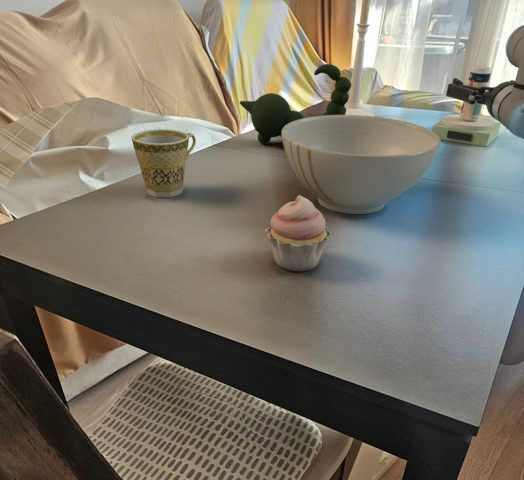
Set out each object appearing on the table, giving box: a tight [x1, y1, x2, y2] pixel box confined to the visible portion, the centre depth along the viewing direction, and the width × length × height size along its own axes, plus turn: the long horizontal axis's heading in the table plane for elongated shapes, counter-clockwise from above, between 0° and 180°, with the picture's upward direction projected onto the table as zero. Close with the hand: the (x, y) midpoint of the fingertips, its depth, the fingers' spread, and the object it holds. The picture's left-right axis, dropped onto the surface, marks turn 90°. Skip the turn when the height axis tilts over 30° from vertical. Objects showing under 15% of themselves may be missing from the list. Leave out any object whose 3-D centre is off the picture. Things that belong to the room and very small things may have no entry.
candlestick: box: [344, 0, 375, 117], centre depth 139 cm, size 13×13×30 cm
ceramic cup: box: [131, 128, 197, 199], centre depth 93 cm, size 13×10×10 cm
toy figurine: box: [239, 63, 352, 145], centre depth 117 cm, size 9×19×25 cm
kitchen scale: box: [431, 113, 502, 148], centre depth 132 cm, size 14×14×4 cm
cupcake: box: [264, 194, 332, 272], centre depth 71 cm, size 9×9×10 cm
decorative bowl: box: [281, 115, 441, 215], centre depth 90 cm, size 27×27×12 cm
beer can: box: [459, 65, 492, 122], centre depth 127 cm, size 5×5×12 cm
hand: (481, 85), depth 123 cm, fingers open, 13 cm apart
